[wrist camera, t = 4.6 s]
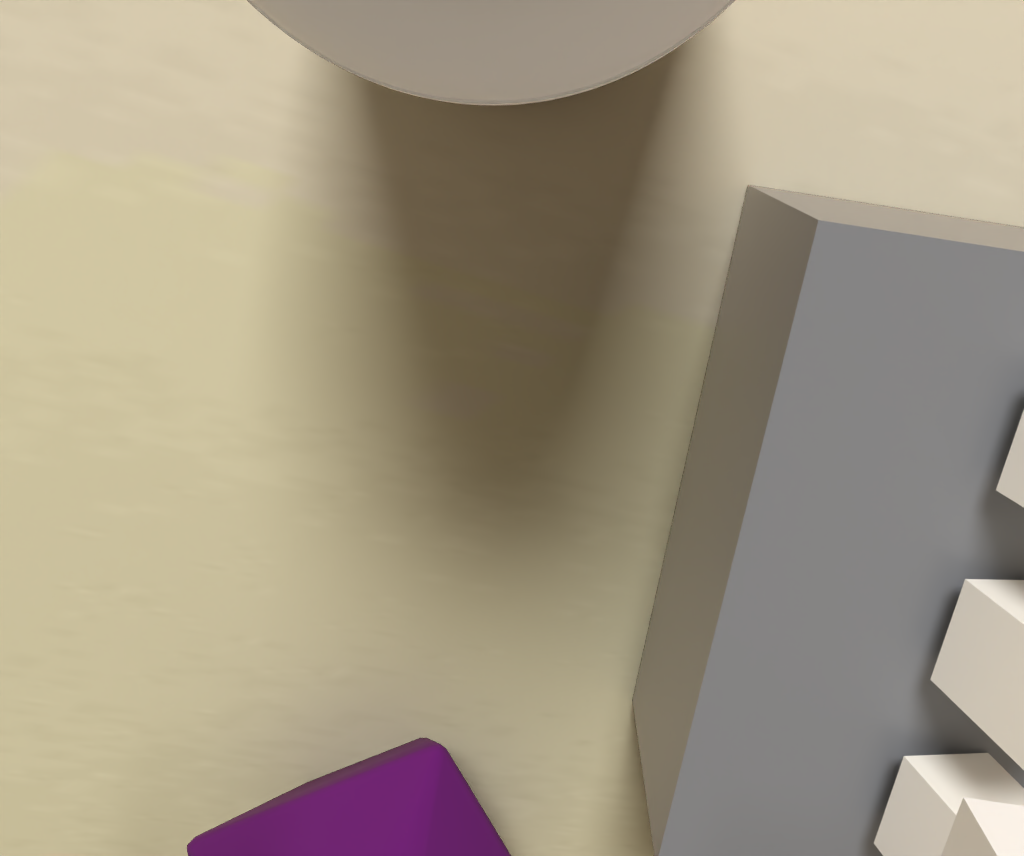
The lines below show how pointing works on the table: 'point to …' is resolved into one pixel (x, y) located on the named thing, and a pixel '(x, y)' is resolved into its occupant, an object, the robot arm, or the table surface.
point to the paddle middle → (987, 660)
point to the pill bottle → (491, 42)
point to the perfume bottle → (366, 813)
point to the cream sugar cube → (1014, 468)
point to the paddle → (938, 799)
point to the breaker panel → (831, 524)
